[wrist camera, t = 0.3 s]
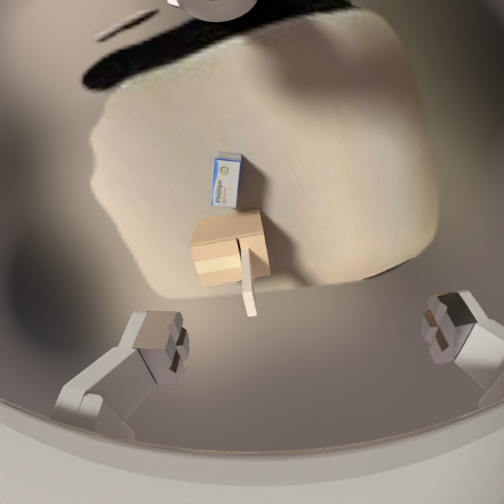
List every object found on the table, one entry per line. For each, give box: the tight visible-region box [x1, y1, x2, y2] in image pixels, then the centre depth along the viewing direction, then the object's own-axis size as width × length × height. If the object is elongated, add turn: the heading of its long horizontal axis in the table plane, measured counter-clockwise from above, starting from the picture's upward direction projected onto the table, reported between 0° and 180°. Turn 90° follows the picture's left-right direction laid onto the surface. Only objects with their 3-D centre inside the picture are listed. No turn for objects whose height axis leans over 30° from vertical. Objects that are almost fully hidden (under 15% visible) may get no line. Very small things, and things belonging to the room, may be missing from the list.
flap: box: [239, 233, 271, 317], centre depth 43 cm, size 8×4×13 cm, turn 10°
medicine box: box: [210, 152, 241, 208], centre depth 49 cm, size 8×4×9 cm, turn 174°
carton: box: [190, 209, 264, 287], centre depth 54 cm, size 8×12×12 cm, turn 100°
